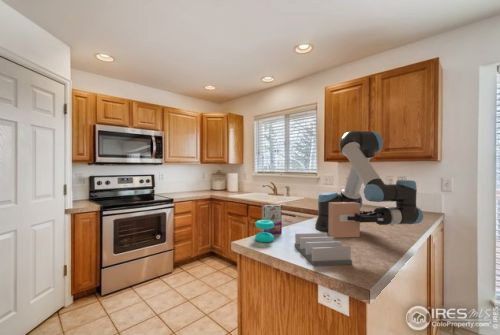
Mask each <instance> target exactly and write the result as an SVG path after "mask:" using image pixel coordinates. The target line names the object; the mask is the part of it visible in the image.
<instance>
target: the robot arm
mask: <svg viewBox="0 0 500 335" xmlns="http://www.w3.org/2000/svg"><path fill="white" fill-rule="evenodd" d="M338 146H339V150H340V152H341V154H342V155H343V156H345V157H346V158H347V160H348V162H349V163H350V164H351V167H350V169H349V173H348V177H347V179H346V180H347V181H346V183H345V186H344V188H343V189H341V191H340V193H338V192H337V191H324V192H321V193H319V194H318V199H317V201H318V202H317V203H318V204H317V205H318V206H317V212H318V213H317V218H316V221H315V224H314V225H315V226H314V227H315V229H316V230H319V231H320V232H321V231H323V232H328V221H329V202H356V203H360V215H358V214H357V213H355V216H354V214H349V215H339V221H340V222H344V221H354V220H355V221H356V222H358V221H359V222H360V224H362V223H376V224H377V225H379V226H387V225H390V226H394V225H417V224H420V223H421V222H422V221H423V219H424V214H423V210H422V209H421V208H419V207H418V206H417V191H418V189H417V182H416V181H415V180H410V179H407V180H406V179H405V180H404V179H399V180H398V179H397V180H396V183H395V184H394V183H393V184H392V183H391V184H386V183H385V182H384V181H383V180H382V178H381V177H380V175H379V174H378V173H377V171H376V169H375V168H374V167H373V165H372V164H371V162H370V160H371V159H373V158H374V157H375V156H376V153H379V152H381V150H382V149H383V147H384V140H383V136H382V135H381V134H380V133H379V132H377V131H371V130H351V131H347V132H345V133H344V134H343V135H342V136H341V137H340V139H339V144H338ZM362 184H363V186H364V188H363V194H364V196H363V197H364V198H365V200H366V201H369V202H373V203H374V202H375V203H381V202H382V203H385V202H386V203H387V202H388V203H389V202H395V206H391V207H390V206H385V207H384V206H383V207H376V208H375V209H374V210H368V211H367V210H366V211H365V210H361V209H362V207H363V198H362V195H361V193H360V191H361V188H362Z"/></svg>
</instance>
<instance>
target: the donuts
mask: <svg viewBox="0 0 500 335" xmlns="http://www.w3.org/2000/svg"><path fill="white" fill-rule="evenodd" d="M254 224H255V227H256V228H257V229H260V230H262V229H271V228H273V226H274V223H273V222H272V221H269V220H262V219H259V220H257V221H256V222H254ZM254 238H255V240H256V241H257V242H259V243H271V242H273V241H274V238H275V235H274V234H271V233H268V232H262V231H260V232H257V234H255V236H254Z"/></svg>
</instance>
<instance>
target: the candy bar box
mask: <svg viewBox="0 0 500 335" xmlns="http://www.w3.org/2000/svg"><path fill="white" fill-rule="evenodd" d="M282 208H283V207H282V205H281V204H265V205H264V204H263V205H261V220H269V221H272V222H273V223H274V226H273V228H271V229H261V232H268V233H271V234H272V235H274V234H282V232H283V231H282V229H283V228H282V225H283V221H282V219H283V218H282V217H283V216H282V214H283V212H282Z"/></svg>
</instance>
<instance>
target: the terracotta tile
mask: <svg viewBox="0 0 500 335" xmlns="http://www.w3.org/2000/svg"><path fill="white" fill-rule="evenodd" d="M360 211H361V209H360V203H356V202H329V221H328V231H327V236H328V237H333V238H334V239H335V238H337V239H338V238H357V237H358V238H359V237H360V236H361V235H360V233H361V229H360V228H361V227H360V226H361V223H360V222H359V221H358V222H356V221H355V220H354V221H344V222H340V221H339V215H349V214H354V216H355V213H357V214H358V215H360Z"/></svg>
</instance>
